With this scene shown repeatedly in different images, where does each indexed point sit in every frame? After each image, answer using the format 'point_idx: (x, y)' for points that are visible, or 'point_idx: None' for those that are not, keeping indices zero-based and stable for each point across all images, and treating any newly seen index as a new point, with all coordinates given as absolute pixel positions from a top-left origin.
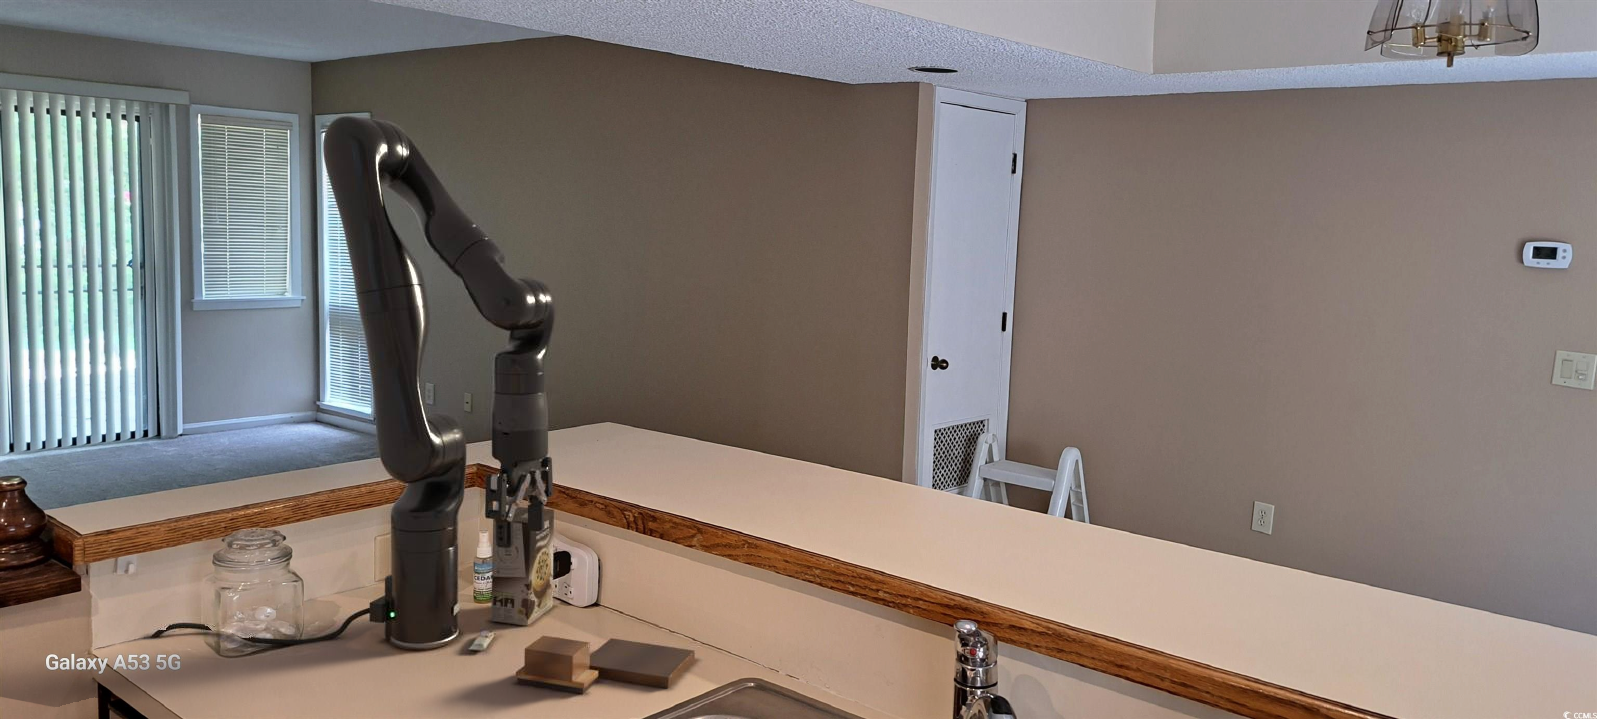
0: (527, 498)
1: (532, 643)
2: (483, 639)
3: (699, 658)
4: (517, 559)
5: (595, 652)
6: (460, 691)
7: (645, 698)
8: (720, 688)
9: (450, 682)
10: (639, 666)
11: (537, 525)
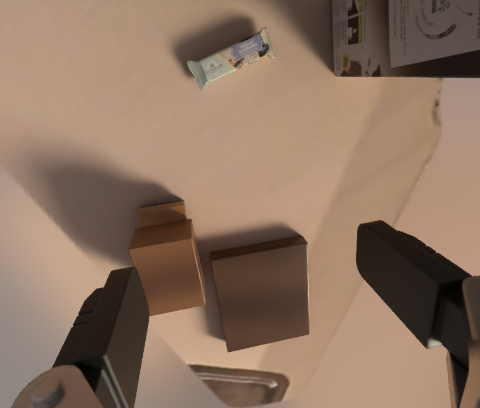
0: (464, 320)
1: (153, 246)
2: (224, 67)
3: (312, 325)
4: (422, 38)
5: (253, 255)
6: (65, 156)
7: (192, 339)
8: (251, 373)
9: (78, 119)
10: (239, 316)
11: (368, 268)
